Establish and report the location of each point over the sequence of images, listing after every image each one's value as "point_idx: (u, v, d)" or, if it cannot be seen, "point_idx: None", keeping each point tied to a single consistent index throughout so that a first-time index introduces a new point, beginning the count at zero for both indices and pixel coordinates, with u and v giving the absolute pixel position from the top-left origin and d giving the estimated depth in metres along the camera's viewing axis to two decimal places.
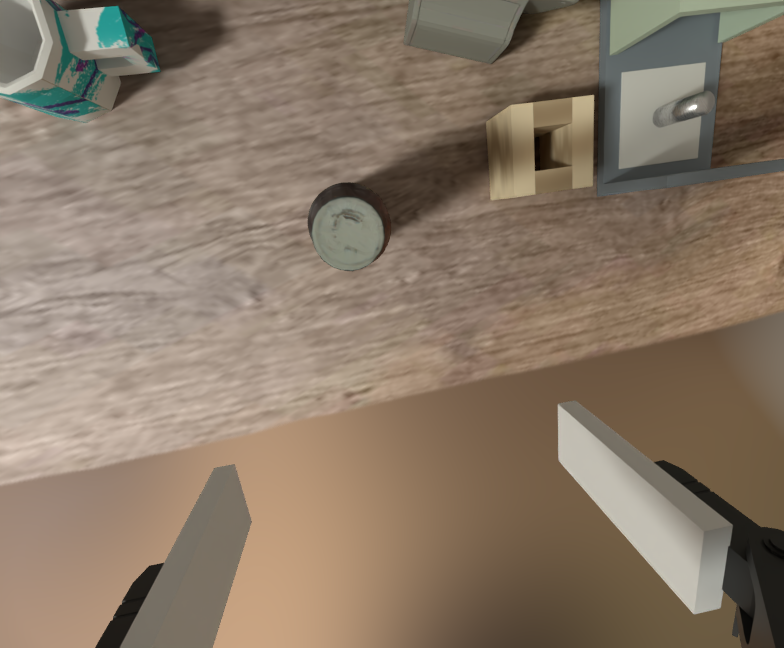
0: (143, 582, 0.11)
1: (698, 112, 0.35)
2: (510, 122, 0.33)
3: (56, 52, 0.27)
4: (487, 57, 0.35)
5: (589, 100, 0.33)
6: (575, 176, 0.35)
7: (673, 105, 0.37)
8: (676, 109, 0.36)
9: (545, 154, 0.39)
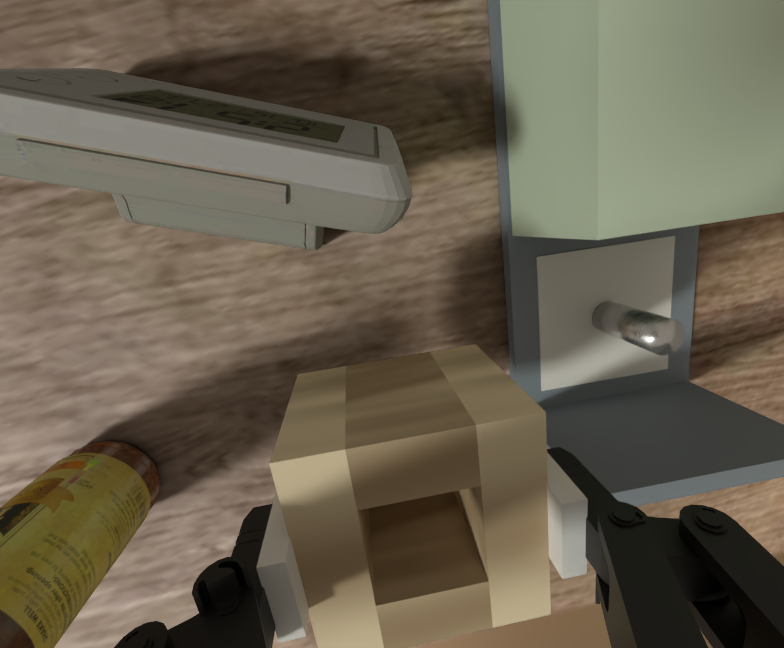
0: (252, 519, 0.12)
1: (656, 351, 0.20)
2: (281, 498, 0.10)
3: None
4: None
5: (531, 428, 0.11)
6: (498, 602, 0.12)
7: (618, 319, 0.22)
8: (623, 329, 0.22)
9: None
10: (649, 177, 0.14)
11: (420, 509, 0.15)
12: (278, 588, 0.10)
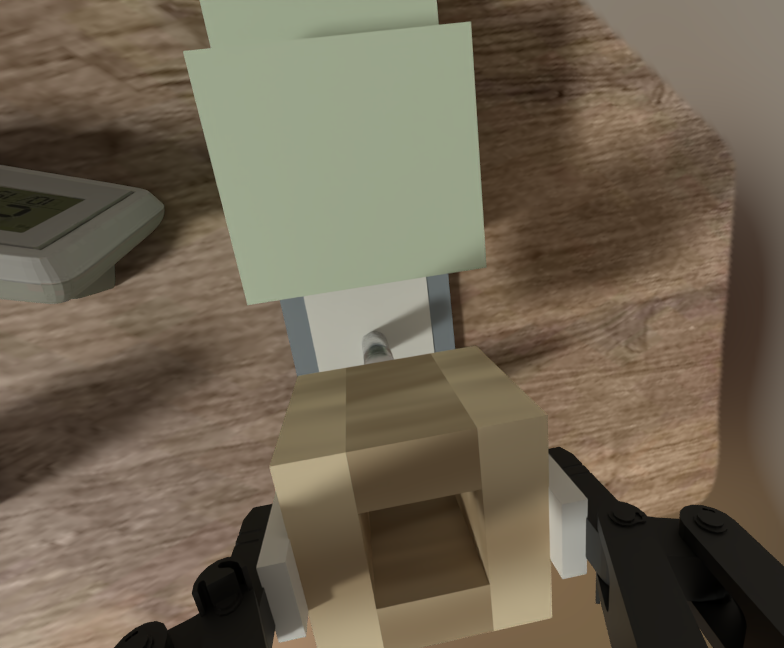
0: (252, 519, 0.12)
1: None
2: (281, 501, 0.10)
3: None
4: None
5: (532, 430, 0.10)
6: (499, 605, 0.12)
7: (364, 349, 0.26)
8: (363, 358, 0.26)
9: None
10: (280, 257, 0.18)
11: (421, 511, 0.15)
12: (278, 588, 0.10)
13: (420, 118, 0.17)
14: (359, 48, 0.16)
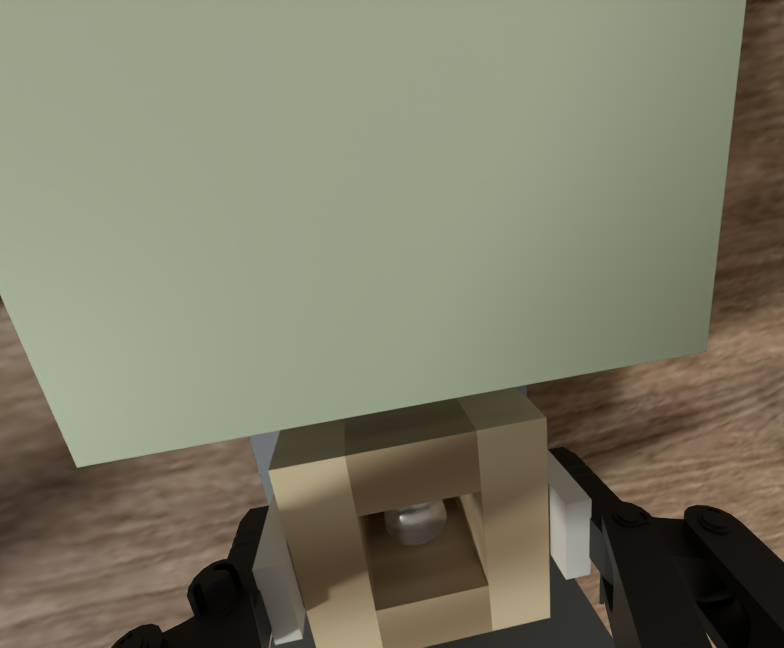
0: (249, 520, 0.12)
1: (403, 540, 0.12)
2: (280, 504, 0.10)
3: None
4: None
5: (531, 433, 0.10)
6: (498, 605, 0.12)
7: None
8: None
9: None
10: (159, 341, 0.06)
11: None
12: (274, 590, 0.10)
13: None
14: None
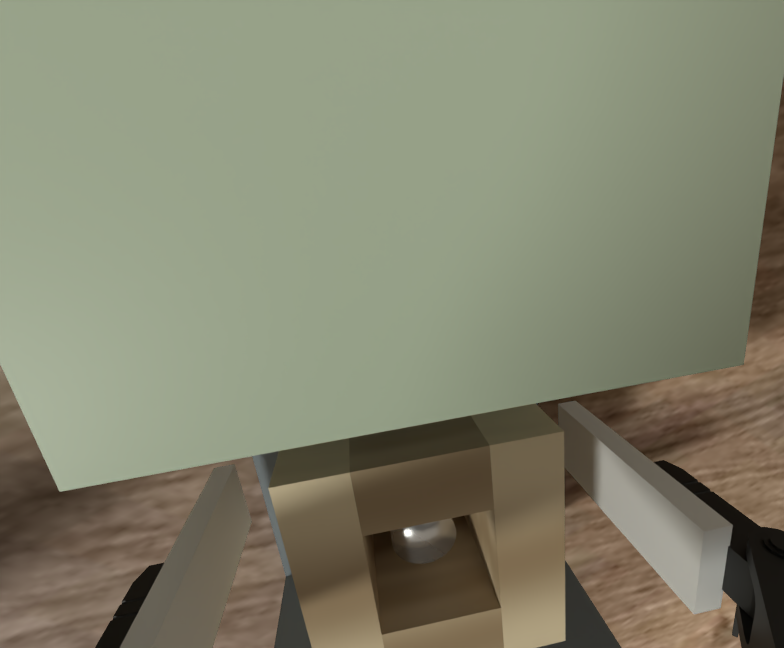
0: (143, 581, 0.11)
1: (410, 558, 0.12)
2: (281, 523, 0.10)
3: None
4: None
5: (548, 448, 0.10)
6: (511, 628, 0.11)
7: None
8: None
9: None
10: (149, 355, 0.06)
11: None
12: None
13: None
14: None
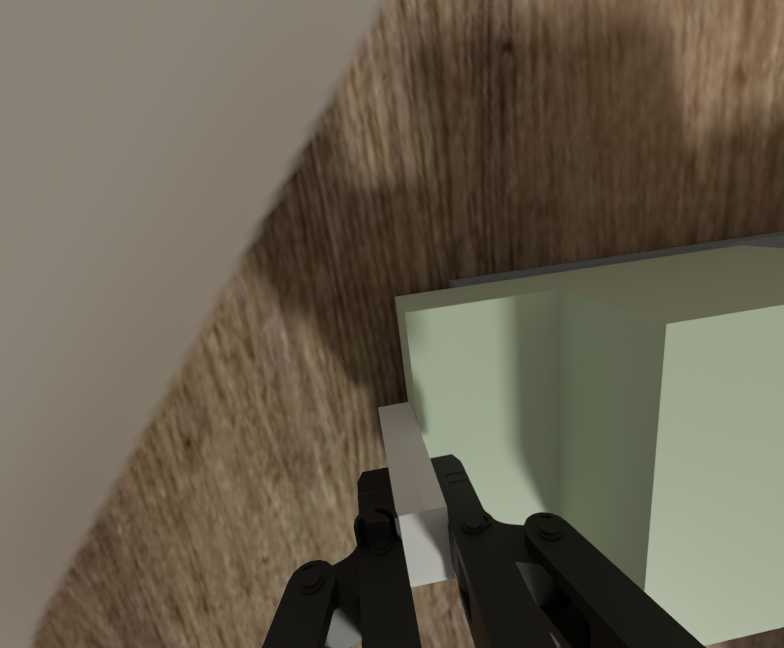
0: (365, 481, 0.13)
1: None
2: None
3: None
4: None
5: None
6: None
7: None
8: None
9: None
10: None
11: None
12: (413, 536, 0.11)
13: (776, 394, 0.11)
14: (670, 483, 0.11)
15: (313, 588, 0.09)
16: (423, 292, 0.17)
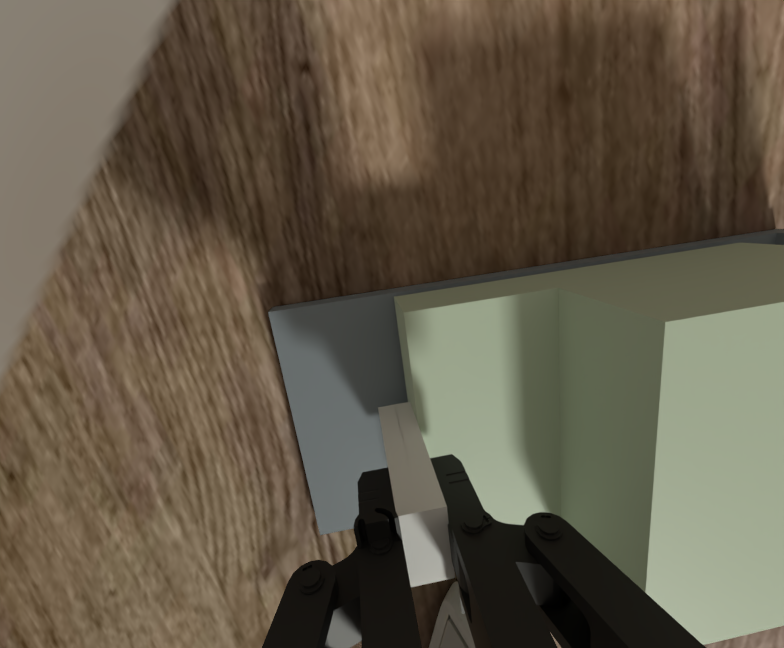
0: (365, 481, 0.13)
1: None
2: None
3: None
4: None
5: None
6: None
7: None
8: None
9: None
10: None
11: None
12: (413, 536, 0.11)
13: (776, 392, 0.11)
14: (671, 482, 0.11)
15: (313, 588, 0.09)
16: (422, 292, 0.17)
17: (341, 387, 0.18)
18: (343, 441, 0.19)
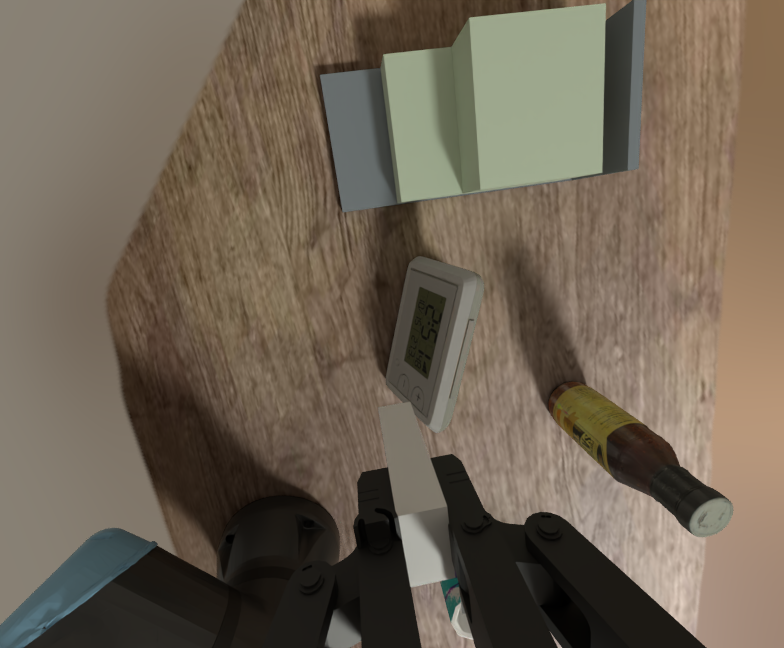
0: (365, 481, 0.13)
1: None
2: None
3: None
4: None
5: None
6: None
7: None
8: None
9: None
10: (580, 149, 0.32)
11: None
12: (413, 536, 0.11)
13: (516, 53, 0.29)
14: (481, 91, 0.30)
15: (313, 588, 0.09)
16: None
17: (354, 120, 0.37)
18: (355, 153, 0.37)
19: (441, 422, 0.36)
